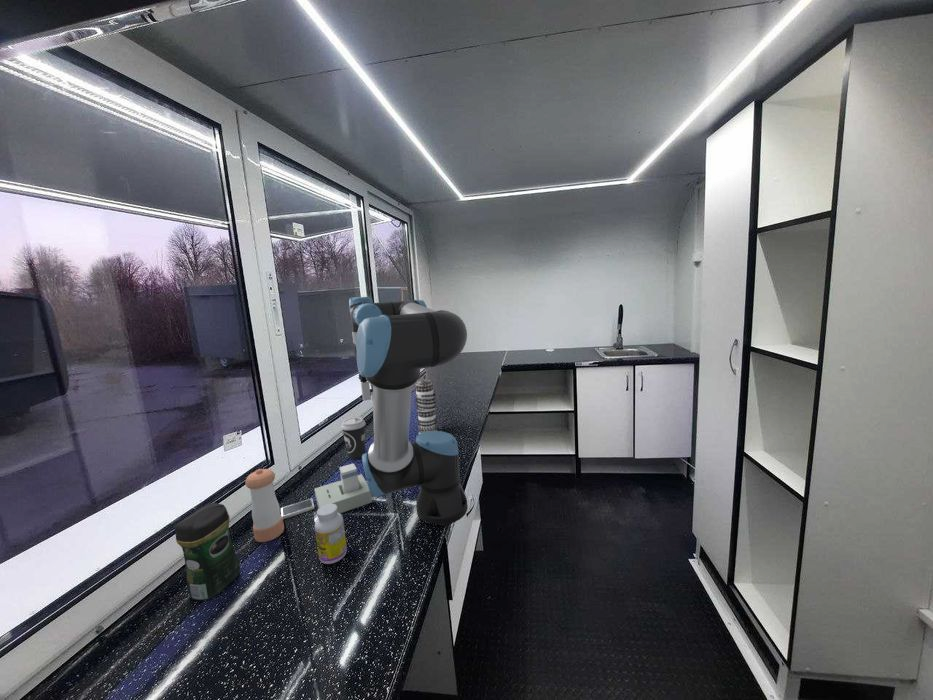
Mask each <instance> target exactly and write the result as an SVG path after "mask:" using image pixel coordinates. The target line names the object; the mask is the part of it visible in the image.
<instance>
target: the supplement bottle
mask: <svg viewBox="0 0 933 700" xmlns="http://www.w3.org/2000/svg"><path fill="white" fill-rule="evenodd" d="M316 516H317V519H316V520H315V523H314V532H315V541H316V547H317V555H318V559H319V561H320V563H323V564H324V565H331V564H335V563H337V562H339V561H340V560H342V559H343V558H344V557H345V556H346V554H347V551H348V547H347V539H346V531H345V523H344V516H343V515H342V513H338V509H337V505H336V504H326V505H323V506H322V507H320V508H319V509H318V508H317V510H316Z"/></svg>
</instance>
